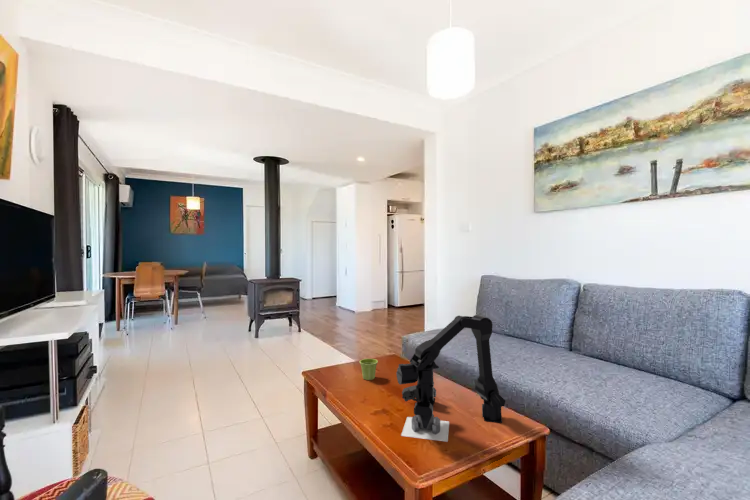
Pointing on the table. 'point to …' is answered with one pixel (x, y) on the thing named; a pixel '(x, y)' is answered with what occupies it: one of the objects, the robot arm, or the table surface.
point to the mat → (426, 431)
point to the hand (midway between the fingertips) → (426, 423)
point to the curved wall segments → (434, 426)
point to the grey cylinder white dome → (428, 424)
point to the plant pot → (368, 368)
